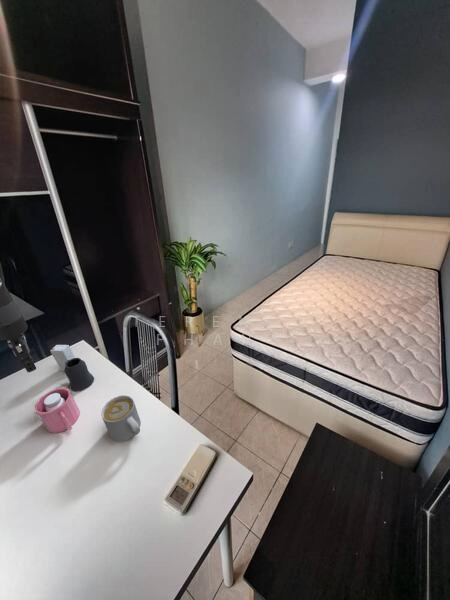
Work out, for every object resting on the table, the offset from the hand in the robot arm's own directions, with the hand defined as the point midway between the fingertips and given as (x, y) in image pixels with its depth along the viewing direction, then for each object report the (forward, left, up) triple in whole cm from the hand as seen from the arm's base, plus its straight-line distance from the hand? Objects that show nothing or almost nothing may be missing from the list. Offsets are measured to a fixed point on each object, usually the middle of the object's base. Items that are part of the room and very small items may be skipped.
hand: (29, 363), depth 75 cm
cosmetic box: (-5, +28, -27) cm, 39 cm away
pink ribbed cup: (+2, -1, -27) cm, 27 cm away
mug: (+2, +18, -27) cm, 32 cm away
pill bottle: (+1, 0, -26) cm, 26 cm away
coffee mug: (+24, -11, -27) cm, 37 cm away
